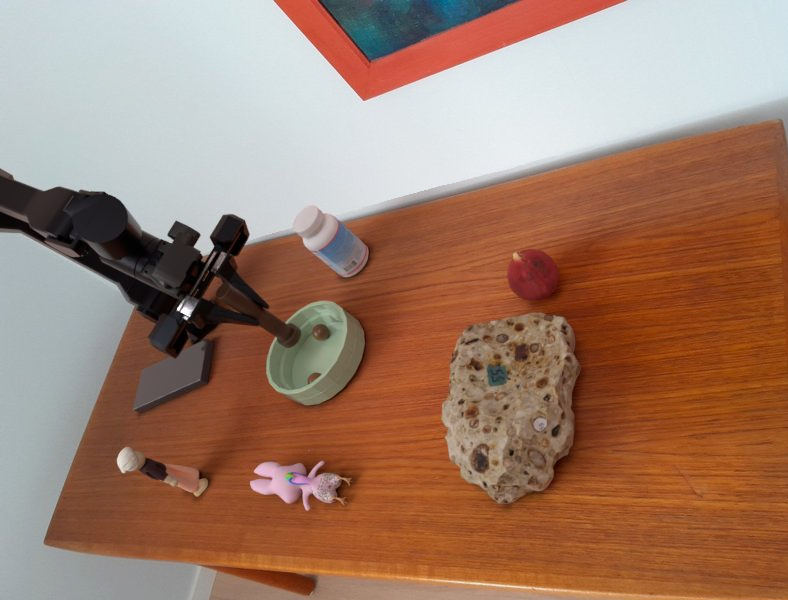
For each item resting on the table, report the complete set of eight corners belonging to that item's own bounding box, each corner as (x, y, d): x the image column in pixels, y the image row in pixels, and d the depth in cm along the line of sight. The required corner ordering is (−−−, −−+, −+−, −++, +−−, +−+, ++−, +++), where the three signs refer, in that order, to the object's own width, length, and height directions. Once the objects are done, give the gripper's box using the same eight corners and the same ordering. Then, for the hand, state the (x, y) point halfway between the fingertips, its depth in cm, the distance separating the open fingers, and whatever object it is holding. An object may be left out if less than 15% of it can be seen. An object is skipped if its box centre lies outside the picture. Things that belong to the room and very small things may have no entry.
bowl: (279, 359, 99) (257, 345, 96) (349, 298, 97) (329, 282, 94) (302, 426, 90) (279, 414, 87) (380, 361, 88) (359, 345, 85)
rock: (470, 352, 82) (446, 302, 74) (589, 345, 77) (577, 290, 70) (448, 513, 70) (418, 472, 62) (587, 515, 65) (573, 472, 58)
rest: (149, 373, 117) (141, 369, 116) (214, 342, 111) (207, 338, 110) (140, 413, 112) (132, 410, 111) (207, 383, 106) (200, 379, 105)
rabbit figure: (362, 470, 82) (268, 457, 89) (338, 455, 78) (240, 442, 84) (348, 520, 80) (252, 503, 86) (322, 508, 75) (222, 491, 81)
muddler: (280, 337, 90) (210, 290, 81) (298, 322, 90) (229, 274, 80) (285, 352, 88) (215, 306, 79) (303, 338, 88) (234, 290, 78)
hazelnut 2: (302, 377, 90) (305, 385, 88) (316, 366, 90) (319, 374, 88) (313, 388, 92) (316, 396, 89) (327, 377, 92) (330, 385, 90)
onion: (576, 275, 78) (549, 236, 72) (555, 317, 76) (525, 281, 70) (536, 267, 81) (507, 229, 76) (515, 307, 80) (484, 272, 74)
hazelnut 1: (316, 336, 96) (313, 321, 95) (332, 335, 96) (329, 320, 95) (312, 344, 94) (308, 328, 93) (328, 343, 94) (325, 327, 93)
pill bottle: (373, 240, 101) (325, 195, 93) (367, 273, 98) (317, 229, 90) (342, 250, 104) (293, 207, 96) (335, 282, 101) (284, 241, 93)
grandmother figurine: (217, 474, 94) (141, 444, 85) (205, 501, 93) (127, 473, 84) (186, 467, 99) (111, 437, 90) (174, 492, 98) (97, 465, 88)
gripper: (83, 308, 72) (215, 372, 73) (173, 169, 77) (296, 231, 78) (115, 330, 83) (230, 385, 84) (193, 207, 87) (300, 261, 88)
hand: (263, 316), depth 83 cm, fingers closed on muddler, 2 cm apart
